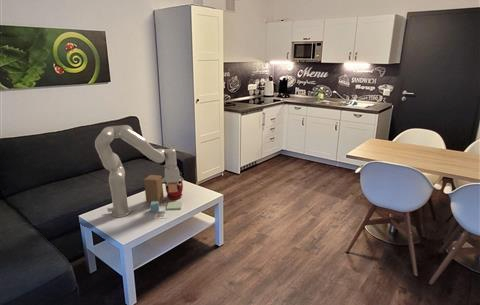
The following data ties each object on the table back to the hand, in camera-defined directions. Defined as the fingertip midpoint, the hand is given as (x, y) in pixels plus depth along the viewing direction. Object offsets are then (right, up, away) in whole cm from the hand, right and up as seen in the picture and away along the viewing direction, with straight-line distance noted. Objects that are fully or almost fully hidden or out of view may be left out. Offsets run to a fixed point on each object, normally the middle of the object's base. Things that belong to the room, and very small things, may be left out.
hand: (173, 189), depth 225 cm
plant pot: (-3, -8, +19) cm, 21 cm away
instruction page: (-7, -17, -10) cm, 21 cm away
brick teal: (-12, -15, -2) cm, 19 cm away
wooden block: (-16, -11, +11) cm, 22 cm away
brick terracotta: (0, -1, 0) cm, 1 cm away
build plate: (0, -13, +4) cm, 13 cm away
